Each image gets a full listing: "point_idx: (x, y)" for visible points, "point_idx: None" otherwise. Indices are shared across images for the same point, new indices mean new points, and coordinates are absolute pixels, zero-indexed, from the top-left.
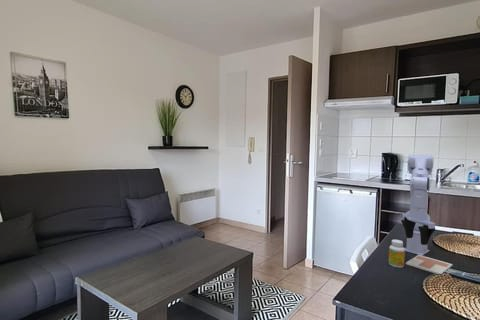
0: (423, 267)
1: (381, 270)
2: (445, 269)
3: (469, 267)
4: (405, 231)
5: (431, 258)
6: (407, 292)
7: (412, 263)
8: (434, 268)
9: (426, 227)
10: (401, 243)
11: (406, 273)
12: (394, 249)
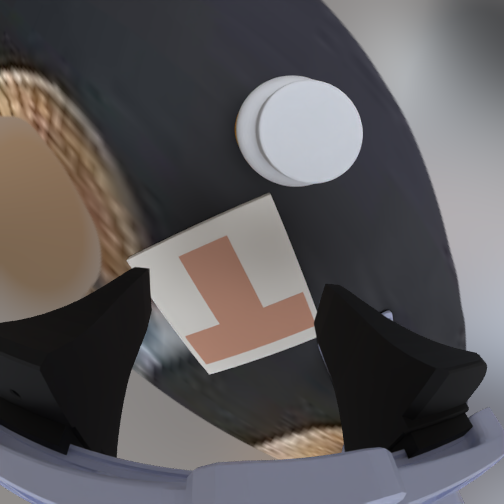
0: (196, 238)
1: (234, 7)
2: (164, 315)
3: (189, 398)
4: (370, 308)
5: (275, 350)
6: (51, 10)
7: (252, 223)
8: (178, 280)
9: (17, 407)
10: (258, 130)
11: (170, 102)
12: (272, 80)
